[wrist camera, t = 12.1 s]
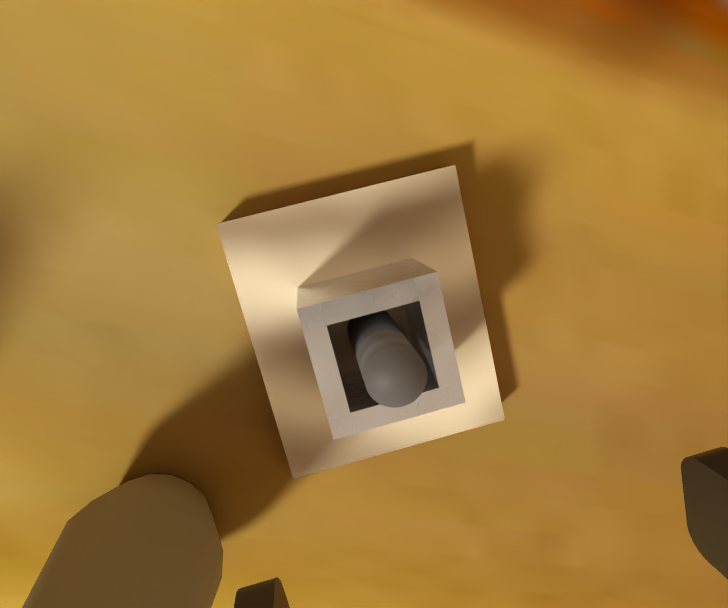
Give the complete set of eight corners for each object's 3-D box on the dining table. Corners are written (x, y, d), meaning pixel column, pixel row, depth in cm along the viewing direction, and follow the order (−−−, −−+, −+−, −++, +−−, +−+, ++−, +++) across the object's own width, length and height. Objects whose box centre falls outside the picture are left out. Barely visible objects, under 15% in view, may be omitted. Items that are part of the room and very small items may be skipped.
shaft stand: (220, 222, 27) (181, 235, 18) (447, 166, 27) (515, 152, 19) (293, 465, 30) (290, 577, 21) (494, 408, 31) (572, 494, 22)
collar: (297, 287, 26) (296, 309, 21) (412, 257, 27) (437, 271, 22) (327, 396, 28) (333, 439, 23) (437, 366, 28) (465, 402, 23)
